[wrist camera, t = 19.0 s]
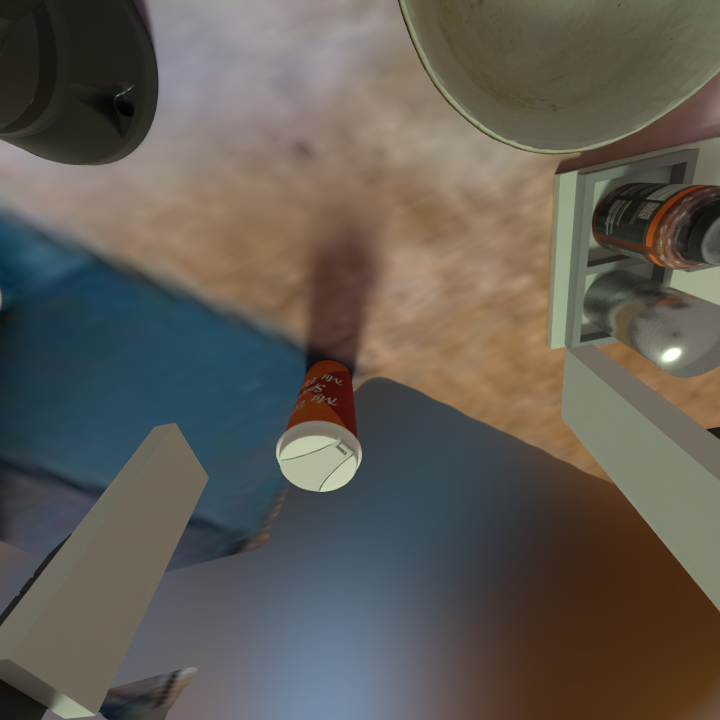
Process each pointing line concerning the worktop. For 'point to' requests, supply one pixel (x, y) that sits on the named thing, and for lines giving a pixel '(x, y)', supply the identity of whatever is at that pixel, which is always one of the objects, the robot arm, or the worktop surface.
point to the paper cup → (321, 431)
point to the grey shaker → (657, 322)
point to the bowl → (565, 64)
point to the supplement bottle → (661, 224)
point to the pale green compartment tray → (591, 261)
